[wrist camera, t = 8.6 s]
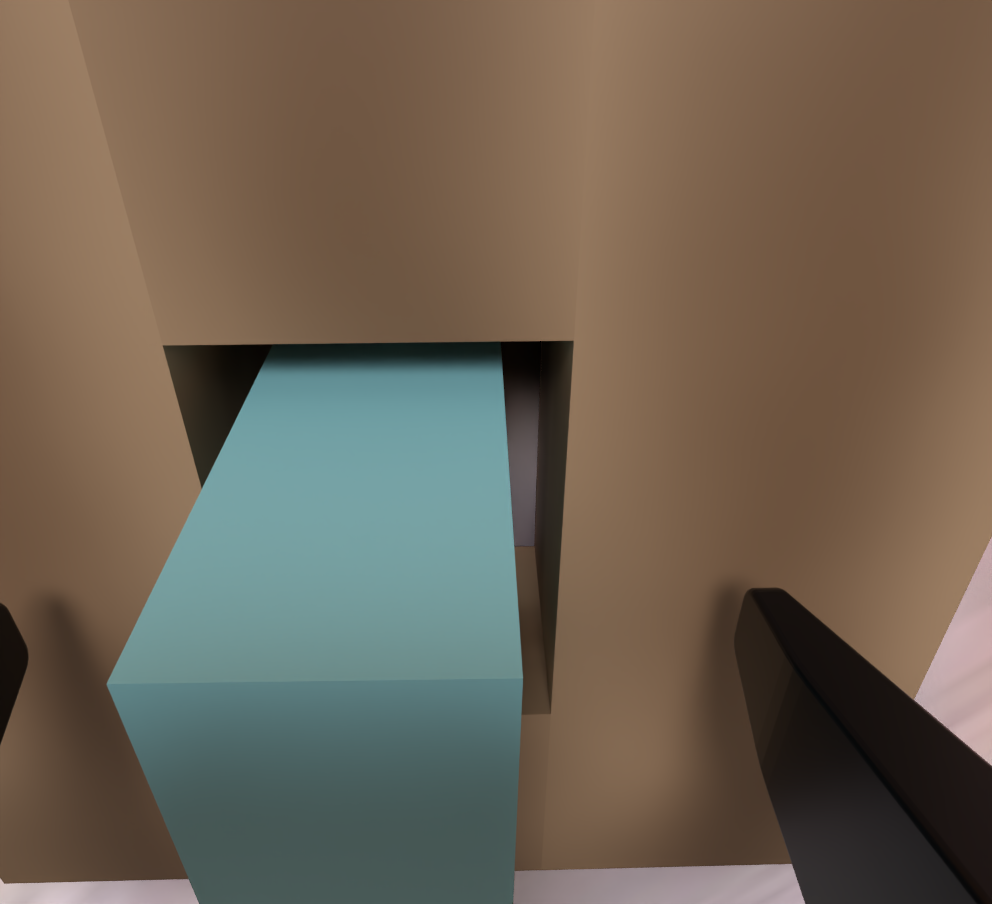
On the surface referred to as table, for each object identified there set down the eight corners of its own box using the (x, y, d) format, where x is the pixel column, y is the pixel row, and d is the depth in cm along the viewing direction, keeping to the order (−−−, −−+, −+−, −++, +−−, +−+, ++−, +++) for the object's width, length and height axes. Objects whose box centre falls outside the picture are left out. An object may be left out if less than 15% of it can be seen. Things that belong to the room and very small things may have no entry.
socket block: (91, 707, 18) (4, 883, 15) (-323, -173, 9) (-796, -238, 6) (770, 693, 18) (836, 862, 15) (1038, -173, 9) (1358, -232, 6)
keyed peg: (340, 519, 15) (234, 986, 8) (307, 274, 12) (106, 684, 5) (493, 517, 15) (509, 979, 8) (496, 274, 12) (523, 678, 6)
